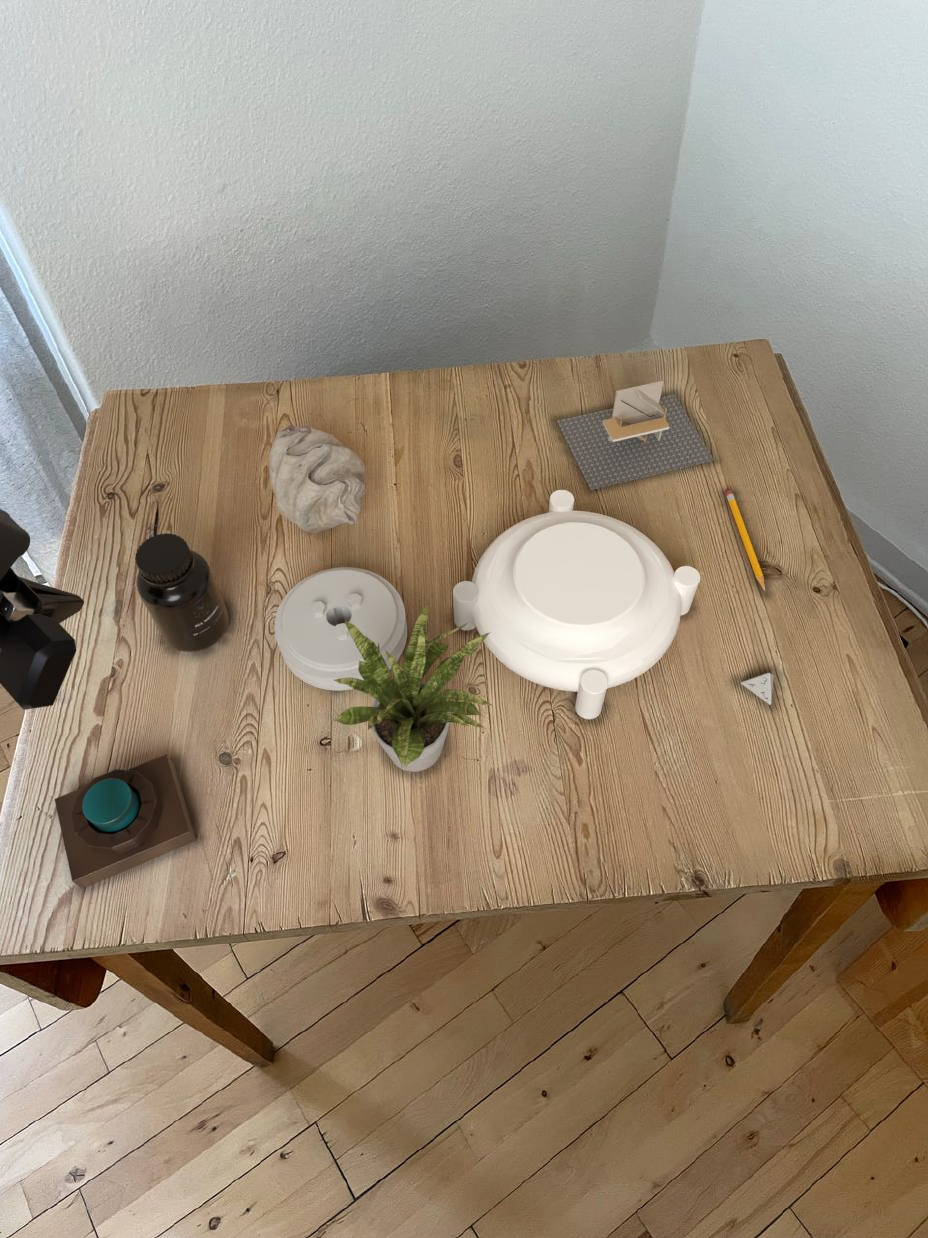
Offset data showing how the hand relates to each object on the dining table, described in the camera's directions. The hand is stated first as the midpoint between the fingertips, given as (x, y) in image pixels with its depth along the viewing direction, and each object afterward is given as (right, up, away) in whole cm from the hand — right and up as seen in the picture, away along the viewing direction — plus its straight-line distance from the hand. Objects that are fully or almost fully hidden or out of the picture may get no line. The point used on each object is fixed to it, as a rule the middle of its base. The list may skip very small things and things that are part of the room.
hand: (80, 603), depth 74 cm
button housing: (+3, -19, +3) cm, 20 cm away
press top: (+3, -17, 0) cm, 18 cm away
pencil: (+63, +7, +19) cm, 66 cm away
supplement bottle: (+5, -2, +15) cm, 16 cm away
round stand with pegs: (+44, -1, +15) cm, 46 cm away
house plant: (+29, -14, +6) cm, 33 cm away
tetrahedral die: (+61, -8, +10) cm, 62 cm away
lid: (+21, -3, +13) cm, 25 cm away
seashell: (+17, +11, +23) cm, 30 cm away
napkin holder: (+52, +19, +28) cm, 62 cm away
